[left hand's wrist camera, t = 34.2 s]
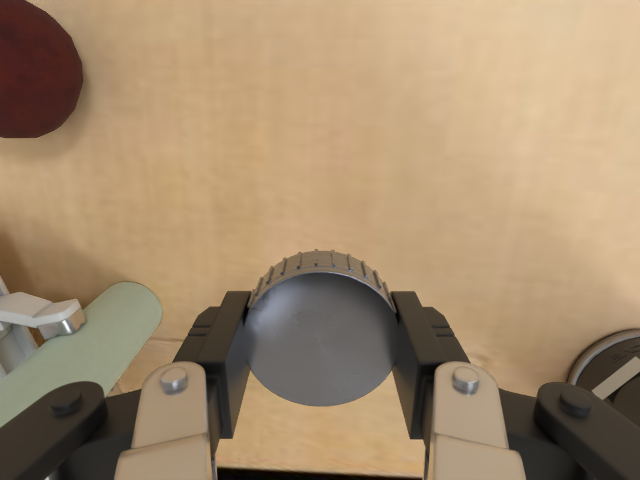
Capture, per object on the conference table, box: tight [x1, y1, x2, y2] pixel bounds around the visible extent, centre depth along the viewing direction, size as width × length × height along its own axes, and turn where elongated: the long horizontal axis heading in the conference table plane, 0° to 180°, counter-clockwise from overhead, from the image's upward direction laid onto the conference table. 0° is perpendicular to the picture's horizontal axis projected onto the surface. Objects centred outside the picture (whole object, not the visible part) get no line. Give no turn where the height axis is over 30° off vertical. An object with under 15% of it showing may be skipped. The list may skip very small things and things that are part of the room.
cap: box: [244, 249, 399, 406], centre depth 12 cm, size 5×4×2 cm
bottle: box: [0, 282, 162, 427], centre depth 20 cm, size 5×5×20 cm
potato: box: [0, 0, 83, 138], centre depth 21 cm, size 7×8×7 cm
